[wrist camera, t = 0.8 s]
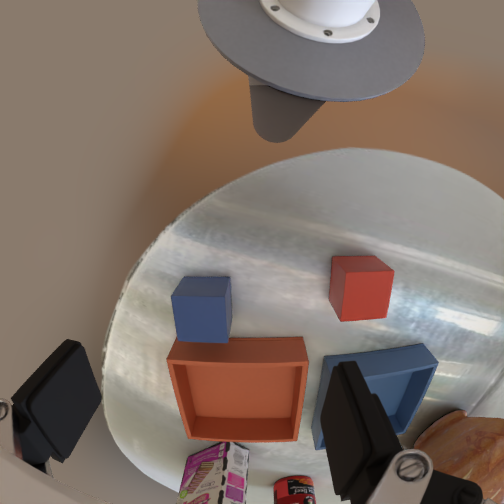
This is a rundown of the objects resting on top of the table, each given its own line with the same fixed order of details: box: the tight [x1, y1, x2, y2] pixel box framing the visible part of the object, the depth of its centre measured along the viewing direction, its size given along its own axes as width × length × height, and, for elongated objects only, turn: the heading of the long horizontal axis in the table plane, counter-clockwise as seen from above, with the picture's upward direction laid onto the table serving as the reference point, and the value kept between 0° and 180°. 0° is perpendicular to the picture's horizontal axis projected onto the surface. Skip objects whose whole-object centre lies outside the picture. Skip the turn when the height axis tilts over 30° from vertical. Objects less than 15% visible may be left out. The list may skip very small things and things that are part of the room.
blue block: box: [171, 277, 232, 343], centre depth 26 cm, size 5×5×5 cm
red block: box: [329, 256, 394, 322], centre depth 25 cm, size 5×5×5 cm
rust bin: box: [167, 337, 309, 442], centre depth 29 cm, size 14×14×5 cm
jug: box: [414, 410, 504, 504], centre depth 22 cm, size 28×28×30 cm
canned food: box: [274, 476, 316, 504], centre depth 34 cm, size 8×8×11 cm
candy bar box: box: [176, 442, 249, 504], centre depth 29 cm, size 11×5×16 cm, turn 135°
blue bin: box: [311, 344, 439, 450], centre depth 30 cm, size 14×14×5 cm
